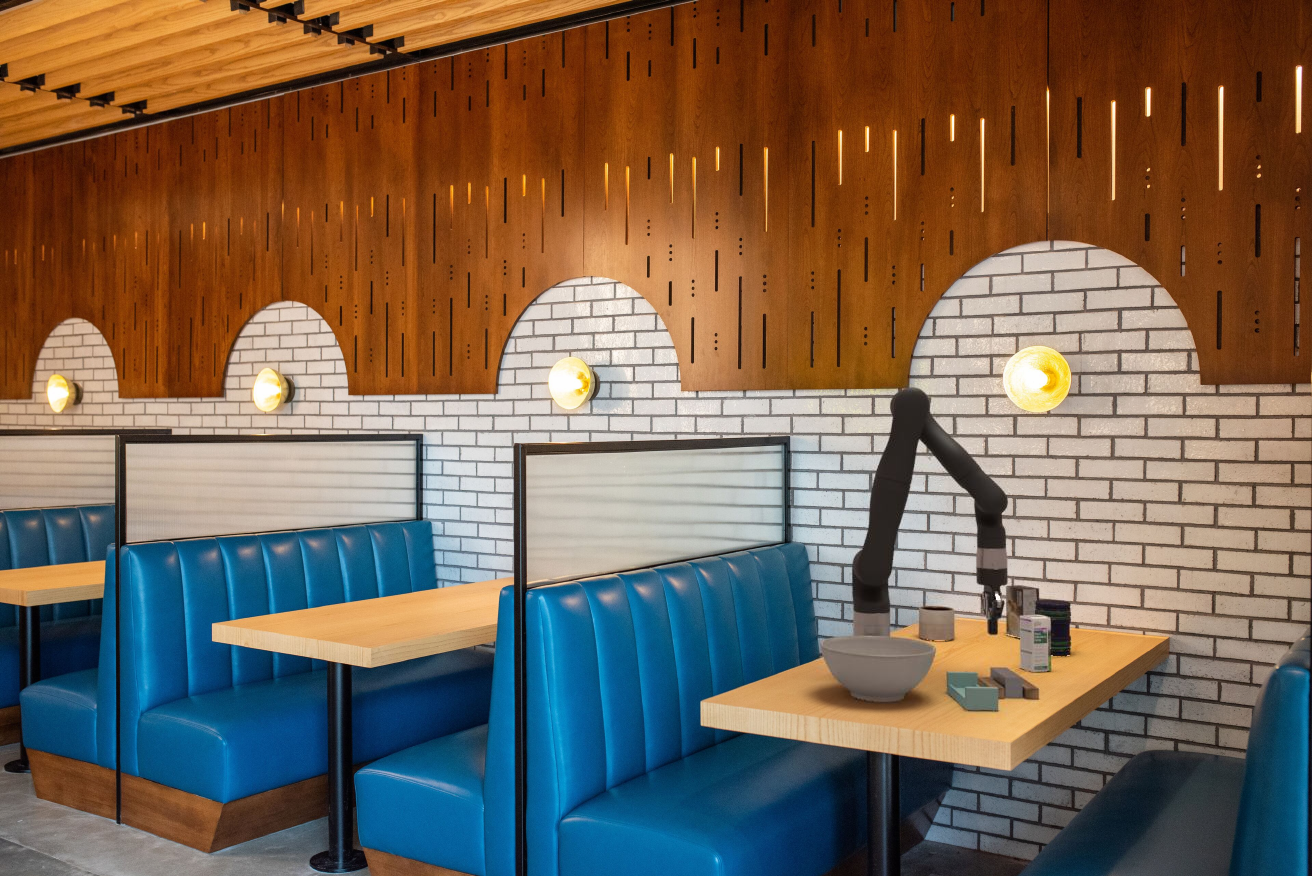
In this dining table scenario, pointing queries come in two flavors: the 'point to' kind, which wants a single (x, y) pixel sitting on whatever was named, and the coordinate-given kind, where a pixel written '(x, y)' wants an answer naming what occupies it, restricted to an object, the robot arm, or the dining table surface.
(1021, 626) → the syrup box
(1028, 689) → the slotted beam
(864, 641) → the decorative bowl
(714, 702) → the dining table surface
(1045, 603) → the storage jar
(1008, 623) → the coffee box
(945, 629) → the planter
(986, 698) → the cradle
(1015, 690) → the grey rectangular block
